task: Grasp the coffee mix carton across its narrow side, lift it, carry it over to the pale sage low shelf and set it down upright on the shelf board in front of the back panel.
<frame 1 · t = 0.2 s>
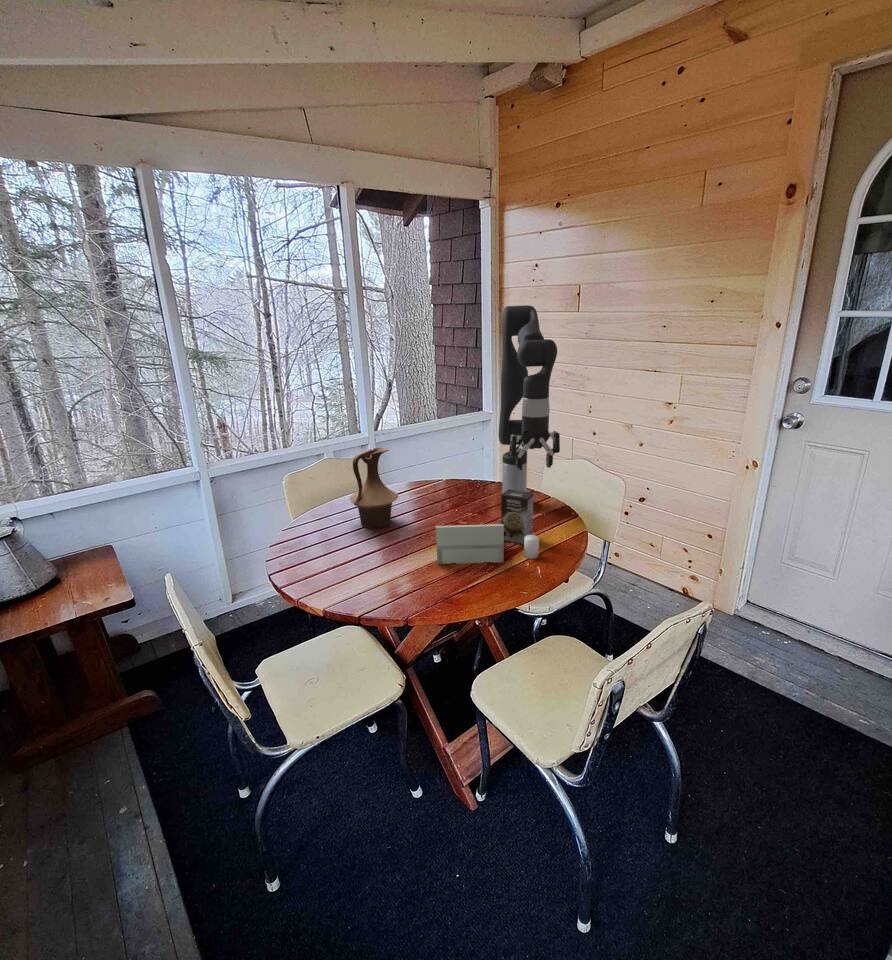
hand: (534, 468, 149), 28 cm above the table, fingers open, 8 cm apart
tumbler: (531, 555, 159), on the table
coffee box: (516, 539, 170), on the table
pitcher: (375, 524, 186), on the table
shelf: (469, 552, 162), on the table
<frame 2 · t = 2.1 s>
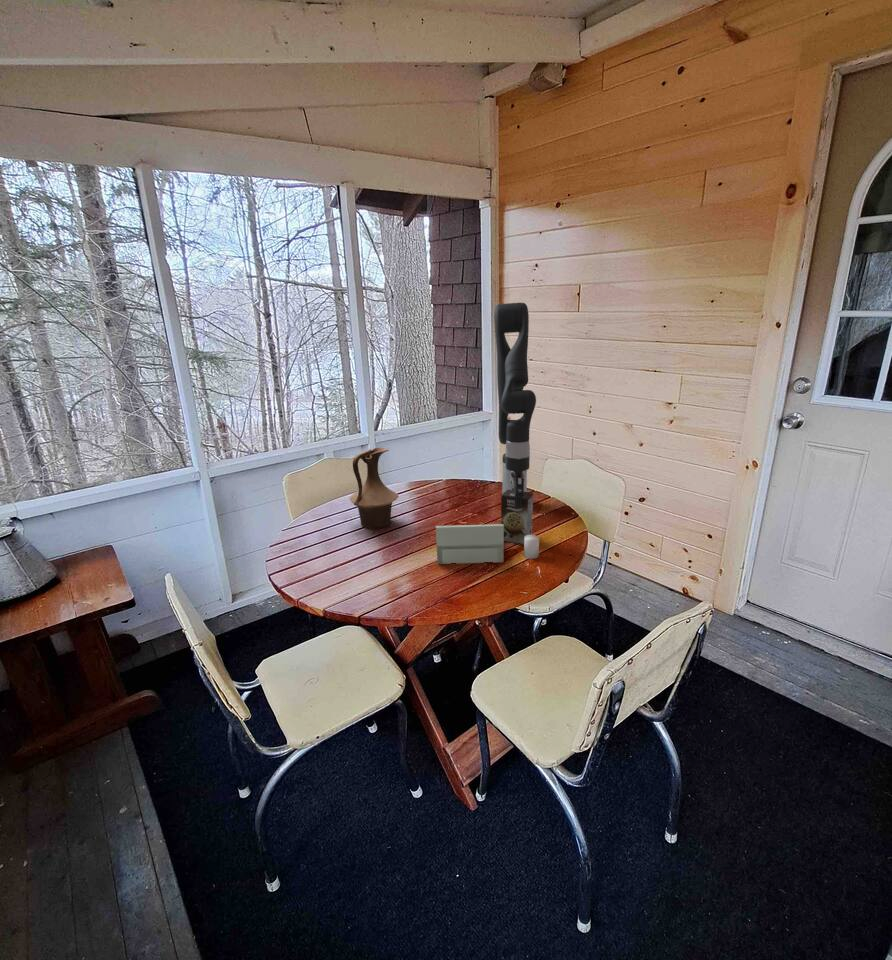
hand: (516, 502, 166), 13 cm above the table, fingers open, 8 cm apart
coffee box: (516, 539, 170), on the table, touching gripper
everything else where it was.
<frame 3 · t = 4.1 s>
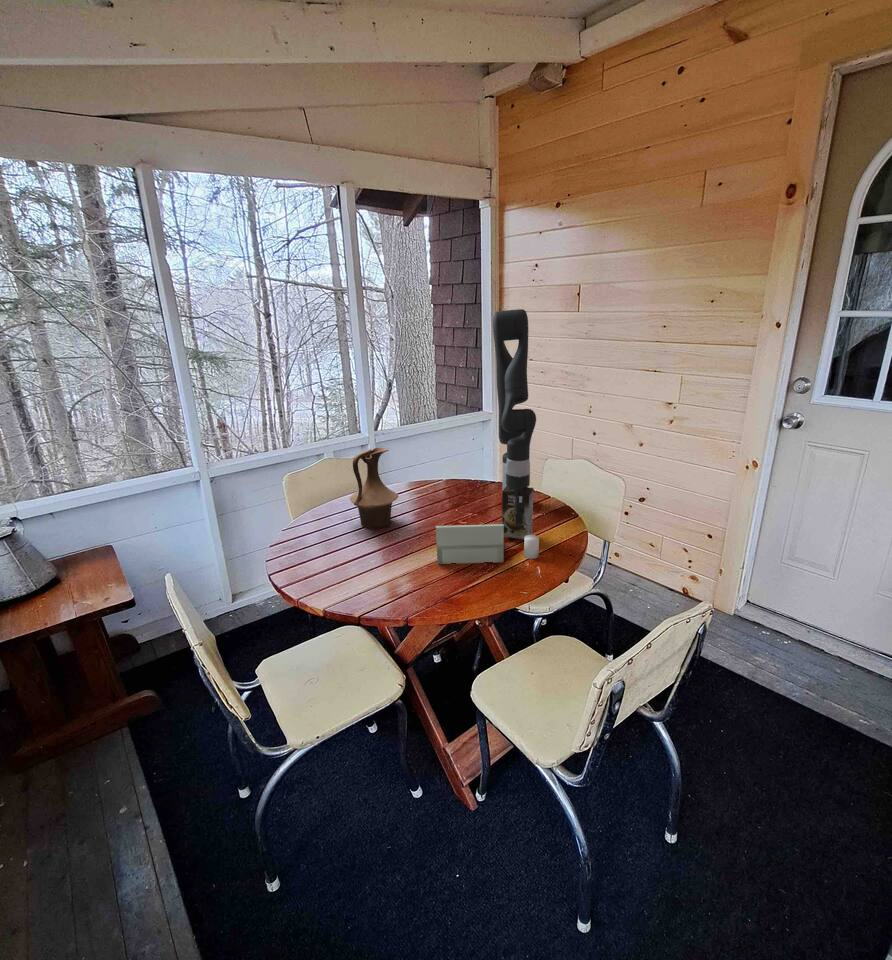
hand: (517, 518, 168), 7 cm above the table, fingers closed on coffee box, 8 cm apart
coffee box: (517, 534, 170), point 1 cm above the table, touching gripper
everything else where it was.
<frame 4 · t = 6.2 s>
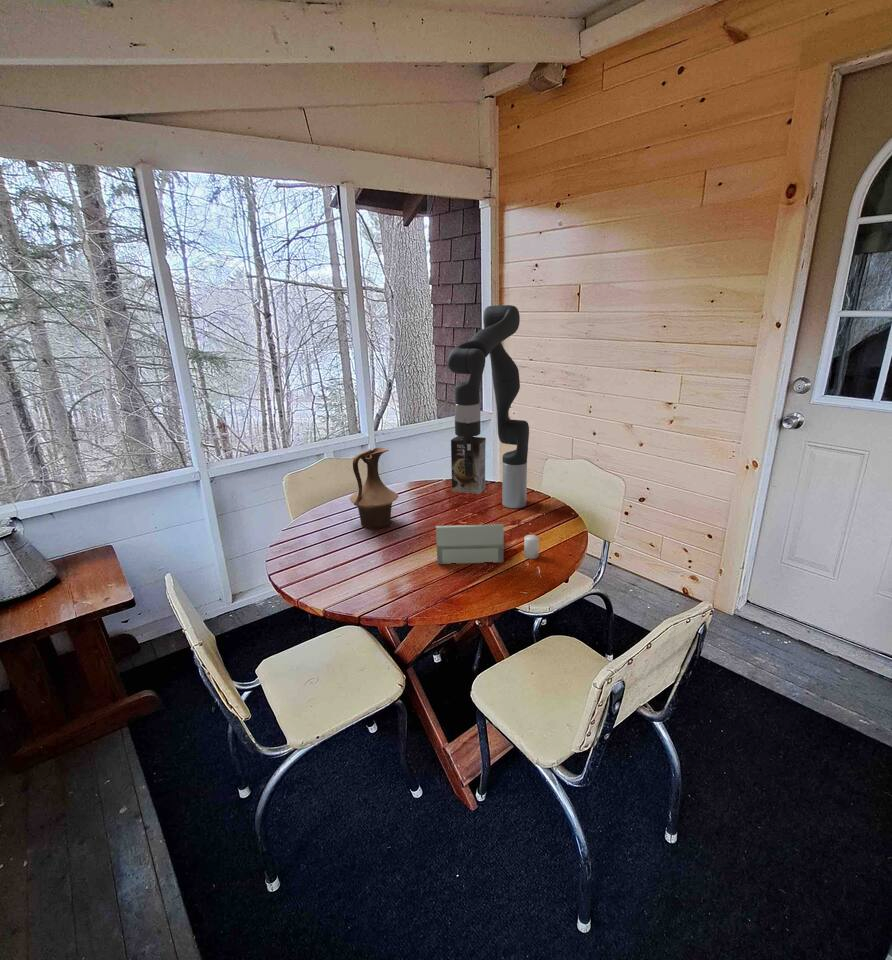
hand: (468, 471, 155), 26 cm above the table, fingers closed on coffee box, 8 cm apart
coffee box: (468, 490, 157), point 20 cm above the table, touching gripper
everything else where it was.
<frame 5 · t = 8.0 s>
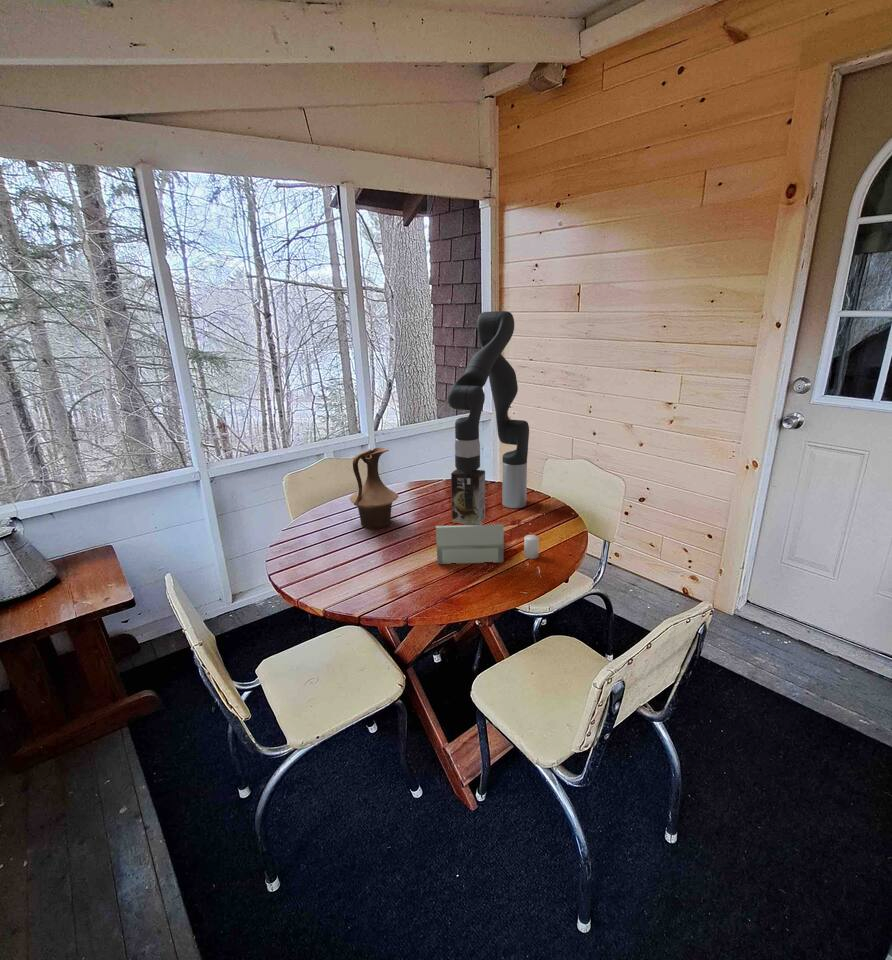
hand: (468, 503, 159), 16 cm above the table, fingers closed on coffee box, 8 cm apart
coffee box: (468, 520, 161), point 10 cm above the table, touching gripper
everything else where it was.
when the fingers open (13 cm above the table, at t = 9.4 s): coffee box drops 1 cm, resting on shelf.
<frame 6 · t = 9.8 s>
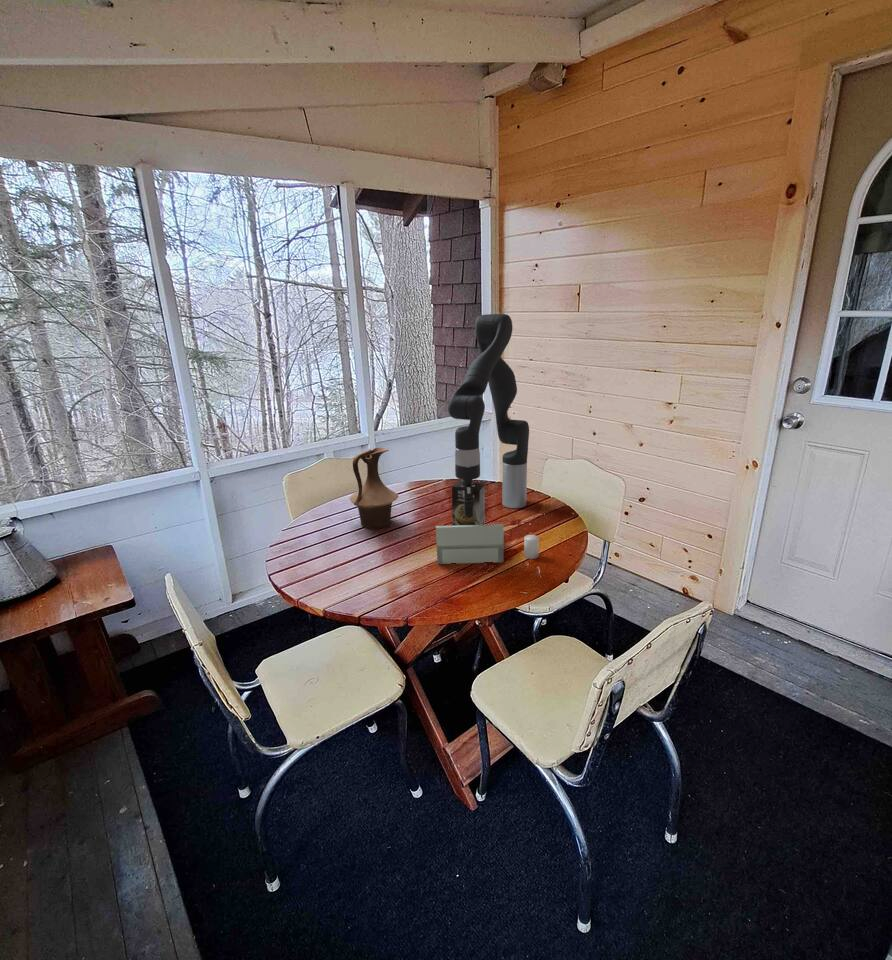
hand: (468, 511, 160), 13 cm above the table, fingers open, 8 cm apart
coffee box: (469, 532, 162), point 6 cm above the table, touching shelf
everything else where it was.
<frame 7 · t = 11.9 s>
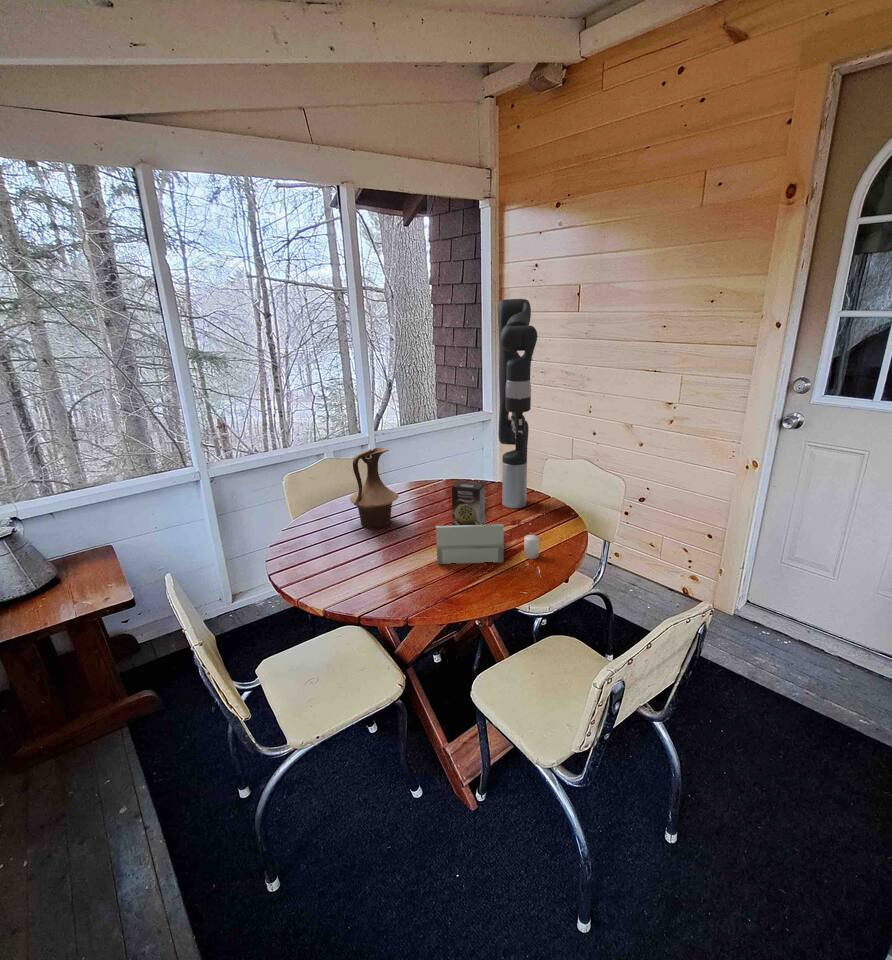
hand: (517, 446, 160), 32 cm above the table, fingers open, 8 cm apart
nothing on the table moved.
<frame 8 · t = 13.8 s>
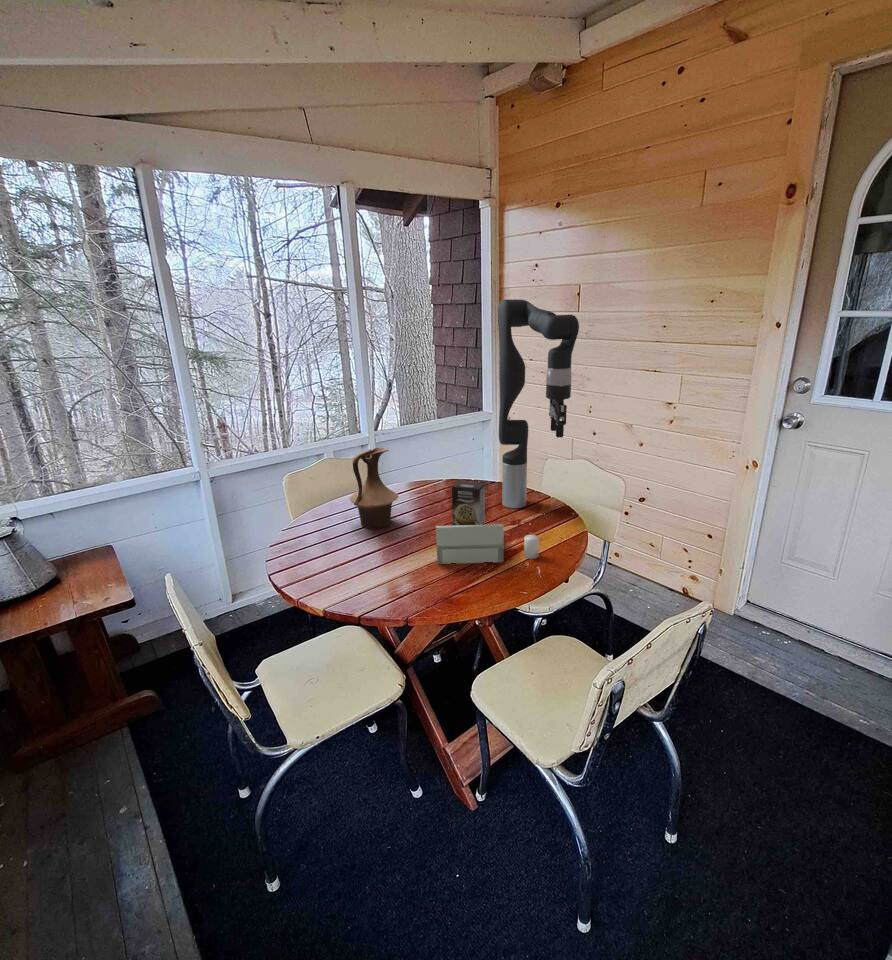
hand: (556, 433, 164), 34 cm above the table, fingers open, 8 cm apart
nothing on the table moved.
at the end: coffee box inside the target area on the shelf (1.1 cm from its centre), point 5.8 cm above the shelf's base; coffee box tilted 0°; the gripper is holding nothing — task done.
